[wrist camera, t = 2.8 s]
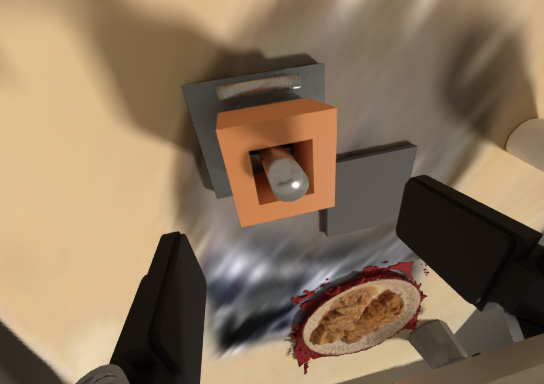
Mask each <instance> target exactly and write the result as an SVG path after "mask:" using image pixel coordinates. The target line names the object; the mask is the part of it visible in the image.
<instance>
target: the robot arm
mask: <svg viewBox="0 0 544 384" xmlns="http://www.w3.org/2000/svg"><path fill="white" fill-rule="evenodd" d="M396 234H397V236H398V237H399V238H400V239H401V240H402V241H403V242H404V243H405V244H406V245H407V246H408V247H409V248H410V249H411V250H412V251H413V252H414V253H416V254H417V255H418V256H419V257H420V258H421V259H422V260H423V261H424V262H425V263H426V264H427V265H428V266H429V267H430V268H431V269H433V270H434V271H435V272H436V273H437V274H438V275H439V276H440V277H441V278H442V279H443V280H444V281H445V282H446V283H447V284H448V285H450V286H451V287H452V288H453V289H454V290H455V291H456V292H457V293H458V294H459V295H460V296H461V297H462V298H463V299H464V300H466V301H467V302H469V303H471V304H473V305H474V306H475V307H476V308H477V309H479V310H480V311H481V312H483V311H486V310H489V309H493V308H495V307H496V305H497V304H499V305H500V306H502V307H503V310H504V314H505V317H506V320H507V323H508V325H509V328H510V332H511V335H512V338H513V341H514V343H513V344H510V345H507V346H504V347H501V348H498V349H495V350H492V351H489V352H486V353H483V354H480V355H477V356H474V357H471V358H468V359H465V360H462V361H459V362H456V363H453V364H450V365H447V366H444V367H441V368H438V369H435V370H432V371H429V372H426V373H423V374H420V375H417V376H414V377H412V378H409V379H406V380H403V381H400V382H397V383H394V384H544V246H541V245H539V244H538V242H539V240H540V239H541V237H542V236H543V234H542V233H540V232H538V231H536V230H534V229H532V228H530V227H528V226H526V225H524V224H522V223H520V222H518V221H516V220H514V219H512V218H510V217H508V216H506V215H504V214H502V213H500V212H498V211H496V210H494V209H492V208H490V207H488V206H486V205H484V204H482V203H480V202H478V201H476V200H475V199H473V198H471V197H469V196H467V195H465V194H463V193H461V192H459V191H457V190H455V189H453V188H451V187H449V186H447V185H445V184H443V183H441V182H439V181H437V180H435V179H433V178H431V177H429V176H427V175H420V176H416V177H412V178H410V179H409V180H408V181H407V183H406V184H405V186H404V191H403V196H402V201H401V206H400V211H399V216H398V221H397V226H396ZM206 291H207V284H206V279H205V277H204V274H203V272H202V270H201V268H200V265H199V263H198V261H197V259H196V256H195V254H194V252H193V250H192V247H191V245H190V243H189V241H188V238H187V236H186V235H185V234H181V233H180V232H179V231H177V232H172V233H168V234H164V235H162V236H161V238H160V241H159V244H158V247H157V249H156V252H155V255H154V257H153V260H152V263H151V266H150V268H149V271H148V274H147V275H145V276H144V277H143V278H142V280H141V282H140V285H139V288H138V290H137V293H136V295H135V298H134V300H133V303H132V306H131V308H130V311H129V313H128V316H127V319H126V321H125V324H124V326H123V329H122V332H121V334H120V337H119V339H118V342H117V344H116V347H115V350H114V352H113V355H112V357H111V360H110V363H109V364H108V365H103V366H100V367H98V368H96V369H94V370H92V371H90V372H89V373H88V374H86V375H85V376H84V377H82V378H81V379H80V380H79V381H78V382H77V383H76V384H200V376H201V362H202V347H203V333H204V319H205V305H206Z"/></svg>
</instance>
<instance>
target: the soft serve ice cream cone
mask: <svg viewBox="0 0 544 384" xmlns="http://www.w3.org/2000/svg"><path fill="white" fill-rule="evenodd" d="M506 150H507V152H508V153H510V154H511V155H513V156H515V157H517V158H519V159H521V160H522V161H524V162H526V163H528V164H530V165H532V166H534V167H535V168H537V169H539V170H541V171H543V172H544V119H530V120H528V121H525V122H524V123H522V124H521V125H520V126H518V127H517V128H516V129H515V130H514V131H513V133H512V134H511V135H510V137H509V139H508V141H507V144H506Z"/></svg>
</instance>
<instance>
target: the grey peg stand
mask: <svg viewBox="0 0 544 384" xmlns="http://www.w3.org/2000/svg"><path fill="white" fill-rule="evenodd" d="M181 87H182V90H183V93H184V96H185V100H186V103H187V106H188V109H189V112H190V115H191V118H192V122H193V125H194V128H195V131H196V134H197V137H198V141H199V144H200V147H201V150H202V153H203V156H204V159H205V163H206V166H207V169H208V172H209V175H210V178H211V181H212V185H213V188H214V191H215V194H216V197H217V199H219V198H224V197H229V196H233V193H232V189H231V185H230V181H229V178H228V174H227V170H226V167H225V163H224V159H223V155H222V152H221V148H220V144H219V140H218V137H217V133H216V124H217V117H218V113H221V112H227V111H233V110H239V109H244V108H250V107H256V106H262V105H267V104H273V103H279V102H285V101H290V100H296V99H302V98H308V97H309V98H312V99H315V100H317V101H320V102H323V103H324V63H317V64H310V65H304V66H298V67H292V68H285V69H279V70H273V71H266V72H260V73H254V74H248V75H241V76H235V77H229V78H223V79H216V80H210V81H204V82H197V83H191V84H185V85H182V86H181ZM249 156H250V161H251V166H252V171H253V174H257V173H262V172H266V175H267V177H268V180H269V183H270V185H271V188H272V190H273V193H274V195H275V196H276V198H277V199H279V200H281V201H283V202H293V201H296V200H298V199H300V198H301V197H303V196H304V195H305V193H306V192H307V190H308V187H309V179H308V177H307V175H306V174H305V172H304V171H303V170H302V168H301V167H300V166H299V164H298V163H297V162H296V160H295V159H294V148H293V143H288V144H283V145H278V146H273V147H268V148H262V149H257V150H252V151H249Z"/></svg>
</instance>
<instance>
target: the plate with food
mask: <svg viewBox="0 0 544 384" xmlns="http://www.w3.org/2000/svg"><path fill="white" fill-rule="evenodd" d="M419 258H420V257H419ZM419 258H418V259H419ZM387 262H388V261H387ZM387 262H386V263H387ZM413 263H414V262H413V261H410V262H406V263H405V262H398V264H396V265H392V266H389V267H387V268H382V269H380V268H379V267H378V266H374V267H371V266H370V267H368V268H364V269H363V270H364V271H366V272H364V271H363V272H361V273H359V274H361V276H359V274H357V275H358V277H356V278H354V279H352V280H348V281H347V282H344V283H343V284H341V285H338V286H337V287H333V288H330V289H329V290H327V291H325V293H322V296H319V297H317V300H316V301H315V299H313V300H312V301H311V300H309V301H308V302H307V301H304V302H306V303H304V304H301V306H299V307H301V308H302V309H304V308H305V307H306V309H304V311H303V313H302V314H303V315H304V312H305V311H306V310H308V311H307V312H306V313H307V314H306V316H305V318H304V320H303V323H302V324H300V323H298V324H296V327H297V328H298V331H296V327H295V328H293V326H294V325H293V324H292V325H291V327H292V329H293V331H294V332H295V333H297V336H295V335H294V334H292V333H291V332H290V335H291V338H292V339H296V341H297V342H296V346H297V347H294V350H295V353H296V357H297V360H298V365H299V367H300V366H301V365H302V364H304V363H305V362H307V363H305V364H304V371H305V372H304V374H306V373H307V370H306V369H307V368H308V365H307V364H308V363H309V362H308V361H309V360H310V358H312V359H316V358H319V357H326V356H328V357H329V356H340V355H344V354H352V353H356V352H360V351H362V350H367V349H370V348H372V347H373V346H376V345H379V344H381V343H382V342H383V341H385V340H386V339H389V338H391V337H392V336H394V334H395V333H399V331H401V330H403V329H412V330H414V329H416V327H415V325H416V322H418V320H417V316H418V314H419V313H418V312H420V309H419V308H420V307H421V306H420V303H421V302H422V301H423V299H424V298H425V297H427V295H423V292H420V290H419V288H420V286H421V283H420V285H418V284H416V281H412V280H413V278H412V274H411V273H410V270H412V266H413ZM421 265H422V264H421ZM425 266H427V264H426V265H425ZM388 268H389V269H388ZM361 269H362V268H361ZM375 269H376V270H375ZM390 269H393V270H395V269H396V270H402V271H400V272H403V273H405V272H406V275H407V276H408V278H411V280H410V281H408V279H405V277H403V276H402V275H400V274H398V273H395V272H390V271H391V270H390ZM369 270H370V271H369ZM371 270H372V271H371ZM378 270H379V271H378ZM425 270H427V269H424V271H425ZM367 271H368V272H369V273H368V272H367ZM373 272H374V273H373ZM408 272H409V273H408ZM362 273H363V274H362ZM424 273H429V272H426V271H425V272H424ZM365 274H366V275H365ZM425 275H426V274H425ZM426 276H427V275H426ZM326 280H328V278H327V279H326ZM411 282H412V283H411ZM413 282H414V284H413ZM327 284H330V282H329V283H327ZM325 285H326V284H325ZM325 285H324V284H322V285H321V286H320V287H324V286H325ZM316 289H318V288H316ZM315 291H316V290H314V291H310V292H309V290H304V291H303V293H307V294H308V295H307V296H306V297H304V298H299V296H297V298H294V297H292V298H291V301H292V302H293V305H296V304H299V302H301V301H302V300H305V299H307V298H309V297H310V296H313V295H314V293H315ZM313 301H315V302H314V303H313ZM312 303H313V304H312ZM311 305H312V306H311ZM310 306H311V307H310ZM309 307H310V308H309ZM308 308H309V309H308ZM302 314H301V315H302ZM292 321H294V319H293V320H292ZM416 326H417V325H416Z"/></svg>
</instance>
